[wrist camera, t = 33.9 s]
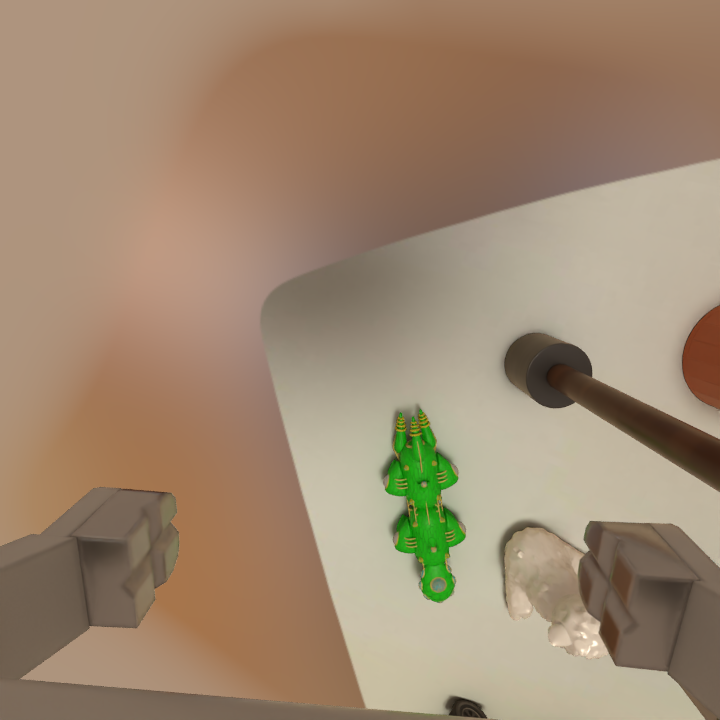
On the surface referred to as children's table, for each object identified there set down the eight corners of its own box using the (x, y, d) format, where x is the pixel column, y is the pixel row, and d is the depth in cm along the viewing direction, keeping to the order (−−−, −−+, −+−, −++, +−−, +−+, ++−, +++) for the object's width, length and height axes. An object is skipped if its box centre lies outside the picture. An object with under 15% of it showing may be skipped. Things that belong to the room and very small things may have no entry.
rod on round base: (511, 329, 40) (742, 429, 17) (569, 336, 41) (875, 445, 17) (499, 387, 41) (701, 555, 18) (555, 394, 42) (827, 569, 18)
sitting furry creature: (509, 612, 46) (565, 732, 35) (468, 547, 45) (512, 649, 33) (594, 567, 46) (681, 673, 34) (556, 498, 44) (633, 586, 32)
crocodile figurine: (400, 585, 45) (406, 619, 41) (371, 411, 41) (374, 428, 37) (467, 574, 45) (480, 606, 41) (444, 398, 41) (456, 414, 37)
